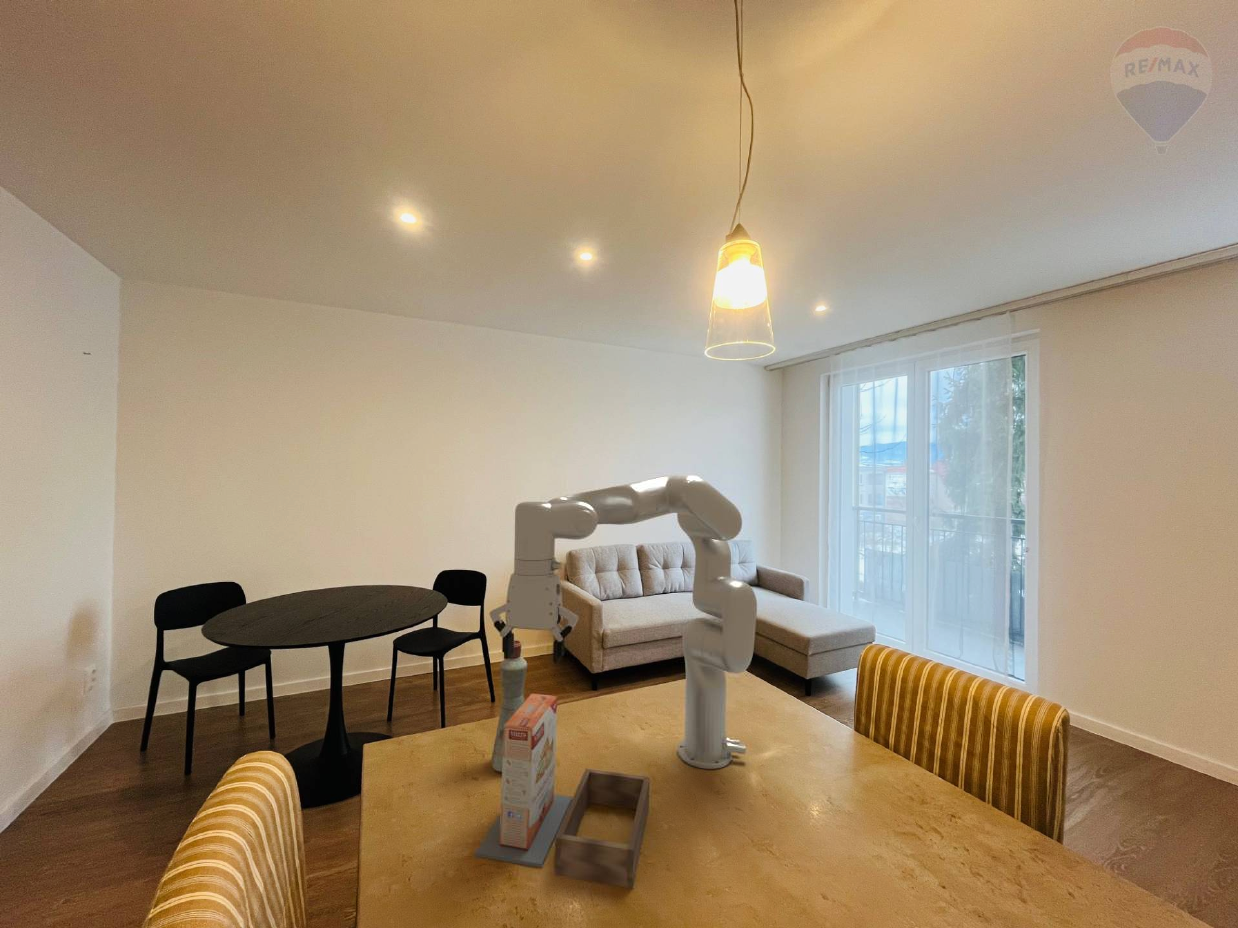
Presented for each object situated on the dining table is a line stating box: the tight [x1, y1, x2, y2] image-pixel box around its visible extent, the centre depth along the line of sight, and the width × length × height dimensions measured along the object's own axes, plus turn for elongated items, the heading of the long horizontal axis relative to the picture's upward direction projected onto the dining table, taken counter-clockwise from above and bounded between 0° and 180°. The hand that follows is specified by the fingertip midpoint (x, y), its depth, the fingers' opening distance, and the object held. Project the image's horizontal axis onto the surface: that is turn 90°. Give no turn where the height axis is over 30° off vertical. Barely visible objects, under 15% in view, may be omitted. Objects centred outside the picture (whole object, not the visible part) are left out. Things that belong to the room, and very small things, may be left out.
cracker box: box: [499, 693, 559, 850], centre depth 94 cm, size 14×6×21 cm, turn 169°
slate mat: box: [474, 793, 573, 869], centre depth 93 cm, size 12×18×1 cm, turn 169°
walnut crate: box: [553, 768, 650, 890], centre depth 91 cm, size 13×20×6 cm, turn 169°
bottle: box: [490, 639, 528, 773], centre depth 114 cm, size 9×9×28 cm
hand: (532, 658), depth 94 cm, fingers open, 9 cm apart
